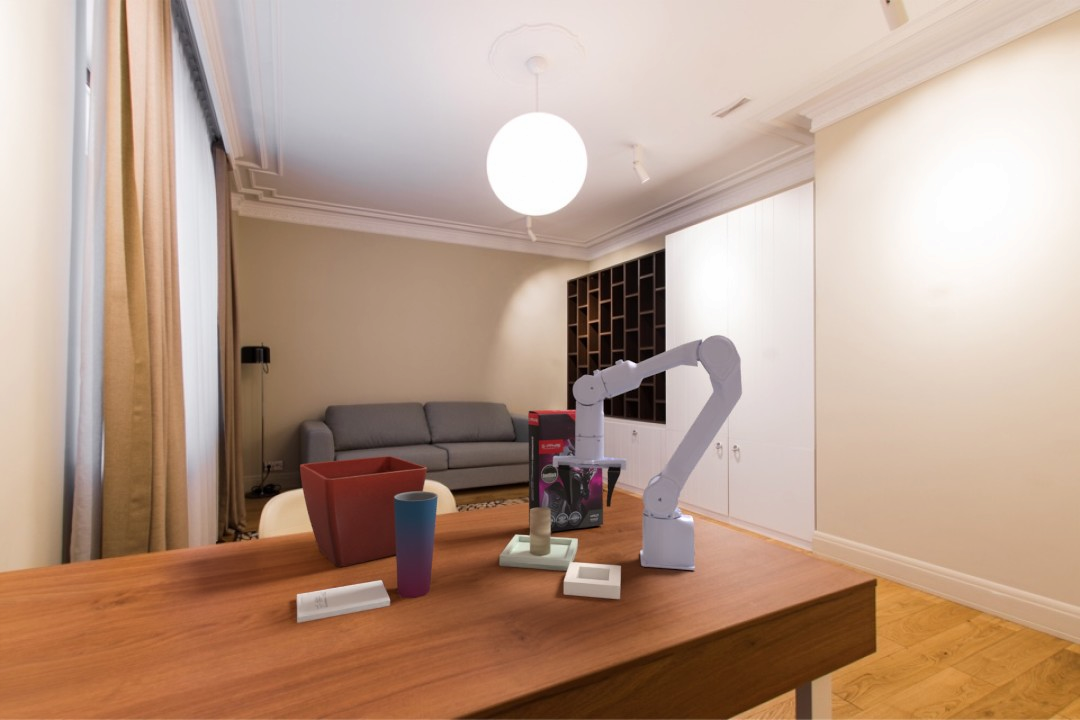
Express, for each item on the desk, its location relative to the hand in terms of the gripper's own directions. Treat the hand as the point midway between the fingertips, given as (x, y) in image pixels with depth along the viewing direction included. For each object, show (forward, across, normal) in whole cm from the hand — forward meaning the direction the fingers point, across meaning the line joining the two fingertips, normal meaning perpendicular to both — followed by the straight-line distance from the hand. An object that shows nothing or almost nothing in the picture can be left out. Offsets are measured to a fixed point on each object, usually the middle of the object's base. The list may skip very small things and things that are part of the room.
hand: (589, 504), depth 98 cm
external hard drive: (+10, -35, -30) cm, 47 cm away
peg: (+9, -9, -4) cm, 13 cm away
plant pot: (+10, -44, -9) cm, 46 cm away
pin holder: (+9, +2, -16) cm, 19 cm away
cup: (+10, -26, -24) cm, 37 cm away
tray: (+9, -9, -4) cm, 14 cm away
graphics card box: (+10, -7, +17) cm, 20 cm away
